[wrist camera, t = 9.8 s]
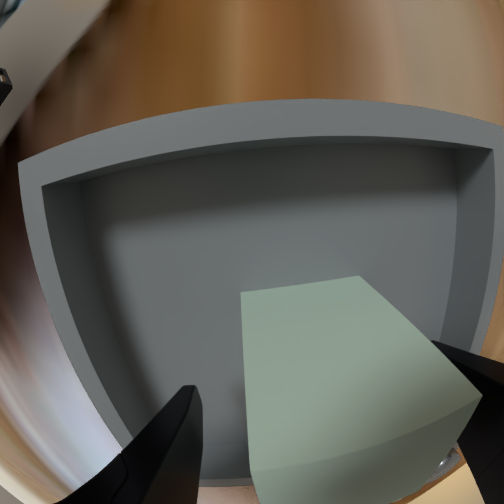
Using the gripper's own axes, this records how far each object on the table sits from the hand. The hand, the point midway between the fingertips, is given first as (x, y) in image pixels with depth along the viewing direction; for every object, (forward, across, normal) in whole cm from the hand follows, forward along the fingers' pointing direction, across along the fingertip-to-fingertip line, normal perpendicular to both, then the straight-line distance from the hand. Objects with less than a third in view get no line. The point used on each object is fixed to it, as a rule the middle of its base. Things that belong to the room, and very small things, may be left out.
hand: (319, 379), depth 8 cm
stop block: (+3, 0, 0) cm, 3 cm away
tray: (+3, 0, 0) cm, 3 cm away
